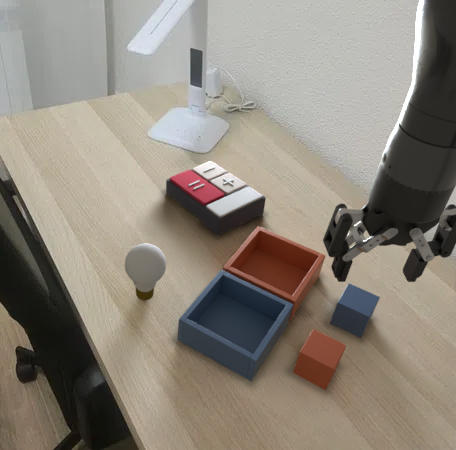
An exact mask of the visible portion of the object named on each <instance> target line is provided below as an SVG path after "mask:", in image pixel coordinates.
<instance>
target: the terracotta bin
mask: <svg viewBox="0 0 456 450" xmlns="http://www.w3.org/2000/svg"><path fill="white" fill-rule="evenodd" d="M326 257H327V256H326V254H323V253H321V252H319V251H316V250H315V249H312V248H310V247H307V246H305V245H304V244H303V245H302V244H300V243H298V242H296V241H294V240H291V239H289V238H286V237H284V236H282V235H281V234H277V233H275V232H273V231H271V230H268V229H266V228H263V227H261V226H256V227H255V229H254V230H253V231H252V232H251V233H250V235H249V236H248V237H246V239H245V241H244V242H243V243H242V244H241V245H240V246H239V247H238V249H237V250H236V251H235V252H234V254H232V256H231V257H230V258H229V259H228V261H227V262H226V263H225V264H224V265H223V266H222V270H223V271H225V272H227V273H229V274H231V275H233V276H235V277H237V278H239V279H242V280H244V281H246V282H248V283H250V284H252V285H254V286H256V287H258V288H260V289H262V290H264V291H266V292H268V293H271V294H273V295H275V296H277V297H279V298H281V299H283V300H285V301H287V302H289V303H291V304H293V308H292V312H291V315H290V318H289V322H288V323H290V322H291V321H292V319H293V317H294V316H295V314H296V312H297V311H298V310H299V308H300V307H301V305H302V303H303V302H304V300H305V299H306V297H307V295H308V294H309V293H310V291H311V290H312V288H313V286H314V284H316V282H317V280H318V279H319V277H320V275H321V272H322V269H323V265H324V262H325V259H326Z"/></svg>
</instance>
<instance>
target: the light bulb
mask: <svg viewBox="0 0 456 450" xmlns="http://www.w3.org/2000/svg"><path fill="white" fill-rule="evenodd" d="M166 269H167V259H166V256H165V254H164V253H163V250H161V249H160V248H159V247H158V246H156V245H154V244H152V243H147V242H146V243H139V244H136V245H134V246H133V247H132V248H131V249H130V250H129V251H128V252H127V253H126V256H125V259H124V270H125V273H126V275H127V277H128V279H130V280H131V281H132V282H133V286H134V287H135V296H136V297H137V299H138V300H141V301H150V300H151V299H152V298H153V297H154V293H155V287H156V285H157V282H159V281H160V280H161V279H162V278H163V277H164V275H165V273H166Z"/></svg>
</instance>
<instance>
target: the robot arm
mask: <svg viewBox="0 0 456 450" xmlns="http://www.w3.org/2000/svg"><path fill="white" fill-rule="evenodd" d="M414 35H415V36H414V37H415V38H414V50H413V51H414V52H413V62H412V63H413V65H412V78H411V85H410V87H409V90H408V92H407V96H406V98H405V101H404V103H403V105H402V109H401V112H400V115H399V117H398V120H397V122H396V124H395V126H394V128H393V130H392V131H391V134H390V136H389V138H388V140H387V143H386V145H385V148H384V150H383V152H382V155H381V159H380V161H379V165H378V168H377V170H376V173H375V176H374V179H373V181H372V184H371V187H370V191H369V195H368V200H367V202H366V204H364V206H362V208H360V209H353V208H352V209H351V208H348V206H347V204H346V203H339V204H337V205H336V206H335V208H334V211H333V213H332V215H331V218H330V221H329V222H328V225H327V227H326V231H325V233H324V236H323V238H322V242H323V245H324V248H325V250H326V253H327V255H328V256H329V258H333V260H332V263H331V265H330V267H331V270H332V273H333V276H334V278H335V279H337V282H338V283H346V281H347V278H348V275H349V272H350V270H351V267H352V266H353V260H354V259H355V258H356V257H358V256H359V255H360V254H362V253H366V254H367V253H369V252H371V251H373V249H375V248H376V247H378V246H379V247H387V246H392V245H394V246H399V247H406V246H407V245H408V244H411V243H413V244H414V245H415V248H411V249H410V252H409V254H408V256H407V258H406V261H405V262H404V265H403V267H402V274H403V276H404V277H405V280H406V281H407V283H416V281H417V279H418V278H420V277H421V276H423V273H424V271H425V270H426V268H427V266H428V264H429V262H431V261H433V260H434V259H435V257H439V256H440V257H441V258H443V259H444V258H449V257H450V256H451V255H452V253H453V251H454V249H455V247H456V204H454V203H452V204H448V202H449V200H450V199H451V196H452V194H453V192H454V190H455V188H456V0H419V1H418V6H417V10H416V18H415V33H414ZM436 226H437V227H436ZM435 227H436V230H435V232H434V233H433V234H434V235H433V238H432V240H429V241H427V239H426V237H425V235H424V234H426V233H428V232H429V231H430V230H432V229H433V228H435ZM349 231H350V232H349ZM365 232H367V234H368V235H369V237H368V238H367V239H366V238H365ZM351 245H352V246H351ZM350 246H351V247H350Z"/></svg>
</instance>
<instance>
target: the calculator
mask: <svg viewBox="0 0 456 450" xmlns="http://www.w3.org/2000/svg"><path fill="white" fill-rule="evenodd" d="M165 194H167V195H168V196H169V197H170V198H172V199H173V200H174V201H175V202H176V203H178V204H180V205H181V206H182V207H183V208H184V209H185V210H187V211H188V212H190V213H191V214H192V215H193V216H195V217H196V218H198V219H199V220H200V221H201V222H202V224H203V226H204V227H206V228H207V229H208V230H210V232H212V233H213V234H215V235H216V236H217V237H219V236H222V235H224V234H226V233H228V232H230V231H232V230H234V229H236V228H238V227H240V226H242V225H244V224H246V223H248V222H250V221H252V220H254V219H256V218H259V217H260V216H262V215H264V211H265V207H266V206H265V205H266V196H264V195H263V194H261V193H260V192H258V191H257V190H256V189H254V188H252V187H251V186H249V185H248V184H247V183H246V182H244V181H243V180H241V178H239V177H236V176H235V175H234V174H232V173H231V172H228V171H227V170H226V169H225V168H223V167H221V166H220V165H218V164H217V163H215V162H214V161H212V160H209V161H206V162H204V163H202V164H199V165H197V166H194V167H192V168H191V169H187V170H185V171H182V172H179V173H177V174H174V175H172V176H170V177H169V178H167V179H166V181H165Z"/></svg>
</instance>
